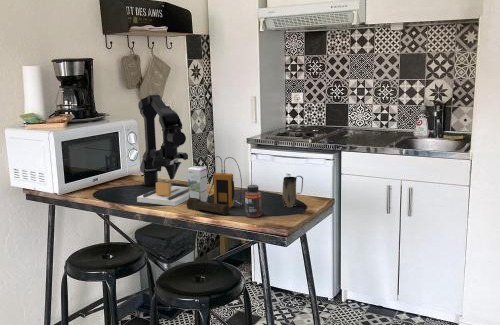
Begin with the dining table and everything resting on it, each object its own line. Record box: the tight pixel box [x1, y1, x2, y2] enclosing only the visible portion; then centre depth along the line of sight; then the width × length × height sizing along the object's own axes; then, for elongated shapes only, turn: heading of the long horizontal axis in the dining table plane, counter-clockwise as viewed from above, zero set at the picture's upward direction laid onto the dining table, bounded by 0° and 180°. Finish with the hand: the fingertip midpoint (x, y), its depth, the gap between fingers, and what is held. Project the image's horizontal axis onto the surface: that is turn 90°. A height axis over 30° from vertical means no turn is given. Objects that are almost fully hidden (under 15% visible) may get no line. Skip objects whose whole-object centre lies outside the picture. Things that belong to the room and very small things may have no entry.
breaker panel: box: [136, 183, 189, 207], centre depth 213 cm, size 22×18×3 cm
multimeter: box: [206, 155, 245, 209], centre depth 200 cm, size 15×10×20 cm
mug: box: [282, 175, 304, 208], centre depth 198 cm, size 8×6×12 cm
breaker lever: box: [155, 181, 172, 196], centre depth 208 cm, size 2×6×5 cm, turn 67°
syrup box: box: [187, 165, 209, 202], centre depth 204 cm, size 6×6×14 cm
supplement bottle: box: [244, 184, 263, 218], centre depth 185 cm, size 6×6×11 cm
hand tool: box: [186, 197, 230, 216], centre depth 193 cm, size 19×4×5 cm, turn 56°
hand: (171, 179), depth 214 cm, fingers closed
